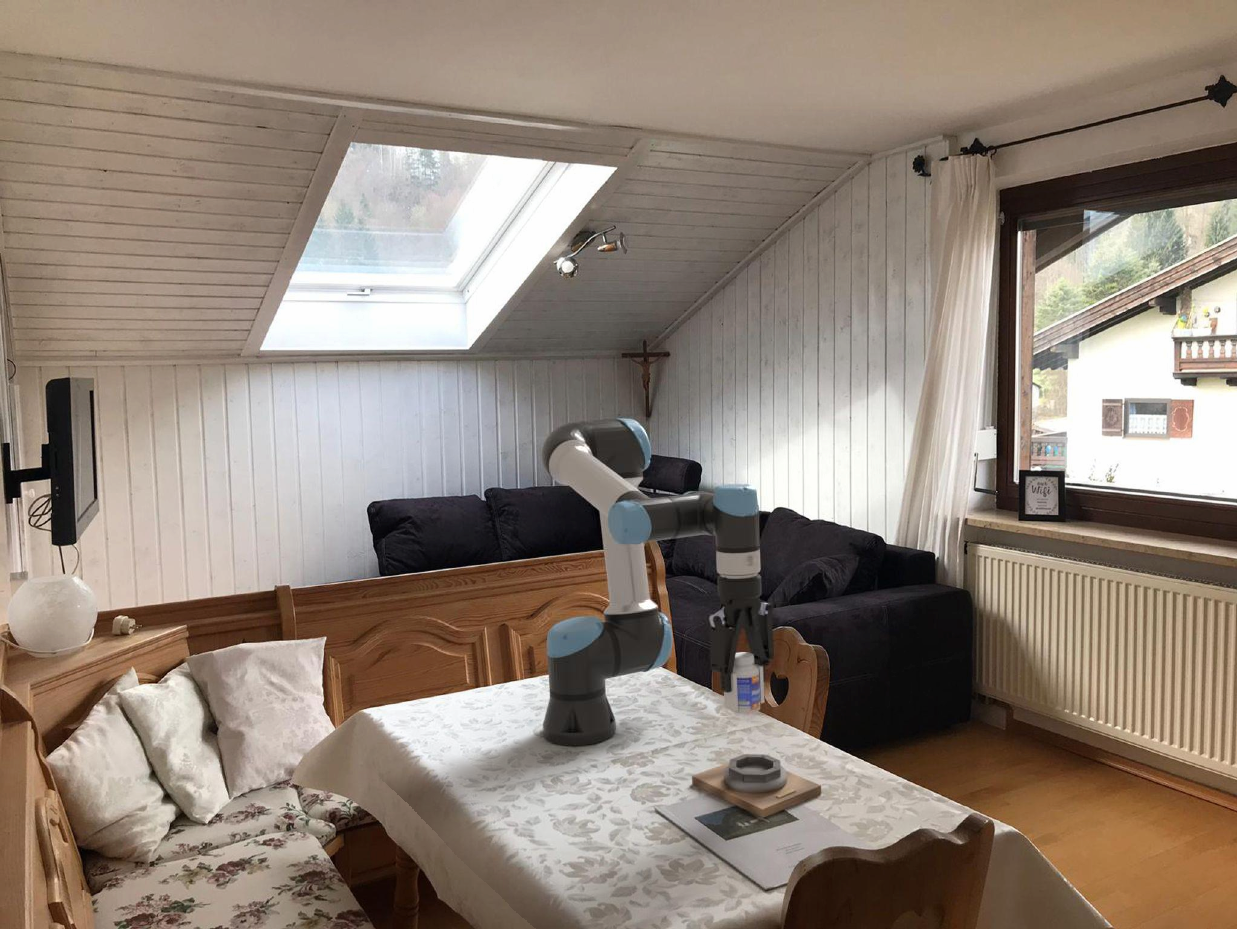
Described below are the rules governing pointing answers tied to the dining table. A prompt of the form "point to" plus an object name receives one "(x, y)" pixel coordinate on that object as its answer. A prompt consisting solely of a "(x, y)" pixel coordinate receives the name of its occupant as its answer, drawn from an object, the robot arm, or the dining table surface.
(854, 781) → the dining table surface
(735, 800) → the hub board
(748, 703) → the pill bottle
